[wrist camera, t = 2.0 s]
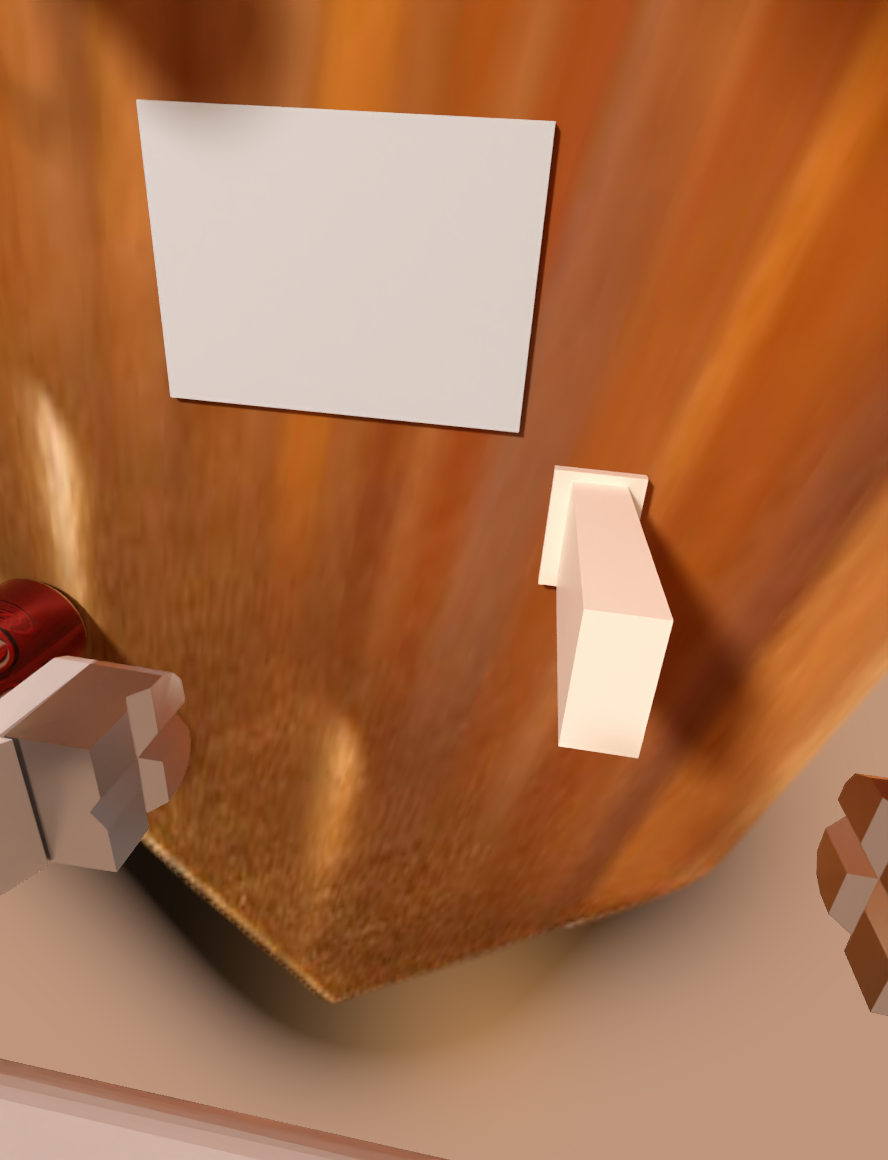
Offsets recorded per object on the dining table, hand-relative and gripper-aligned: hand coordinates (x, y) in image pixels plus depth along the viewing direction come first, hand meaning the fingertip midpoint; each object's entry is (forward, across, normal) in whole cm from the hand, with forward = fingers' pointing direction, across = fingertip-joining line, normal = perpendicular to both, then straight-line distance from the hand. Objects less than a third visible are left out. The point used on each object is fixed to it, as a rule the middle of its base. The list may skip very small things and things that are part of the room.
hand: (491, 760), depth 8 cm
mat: (+30, +11, -5) cm, 32 cm away
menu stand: (+30, -4, +8) cm, 31 cm away
